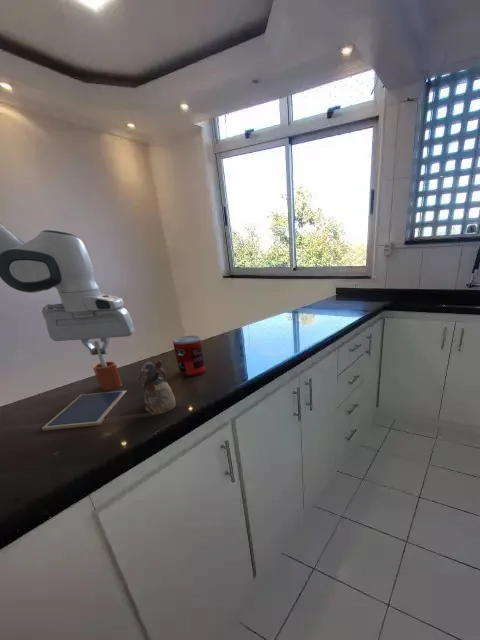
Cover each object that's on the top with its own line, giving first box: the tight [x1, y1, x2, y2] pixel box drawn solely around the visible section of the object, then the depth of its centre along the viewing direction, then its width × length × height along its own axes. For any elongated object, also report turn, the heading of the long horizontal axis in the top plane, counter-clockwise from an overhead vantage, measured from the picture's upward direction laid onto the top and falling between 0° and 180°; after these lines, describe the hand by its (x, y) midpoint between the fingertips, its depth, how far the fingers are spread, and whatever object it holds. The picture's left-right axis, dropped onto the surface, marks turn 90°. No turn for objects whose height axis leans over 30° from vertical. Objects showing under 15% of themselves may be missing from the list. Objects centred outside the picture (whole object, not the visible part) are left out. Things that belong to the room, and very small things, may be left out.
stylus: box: [93, 340, 107, 368], centre depth 87 cm, size 1×1×13 cm
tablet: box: [41, 390, 127, 431], centre depth 77 cm, size 12×18×1 cm, turn 8°
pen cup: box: [92, 361, 123, 391], centre depth 89 cm, size 6×6×7 cm
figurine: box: [138, 360, 177, 416], centre depth 74 cm, size 7×7×12 cm
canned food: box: [172, 335, 206, 378], centre depth 97 cm, size 8×8×11 cm
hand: (100, 354), depth 86 cm, fingers closed on stylus, 1 cm apart
